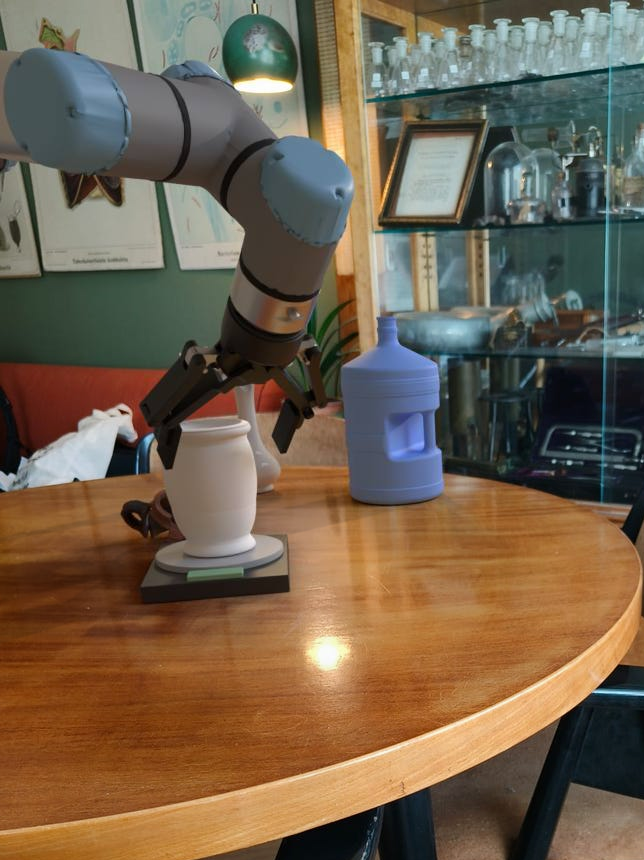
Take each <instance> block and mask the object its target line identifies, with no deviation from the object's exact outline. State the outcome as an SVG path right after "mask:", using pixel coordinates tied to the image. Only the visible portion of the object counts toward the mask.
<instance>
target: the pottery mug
mask: <svg viewBox="0 0 644 860" xmlns="http://www.w3.org/2000/svg"><path fill="white" fill-rule="evenodd" d="M134 514H137V515H138V517H139V518H140V519H138V518H137V517H136V516H135V515H134ZM119 515H120V517H121V518H122V520H123V521H124V523H125V524H126V525H127V526H128V527H130V528H131V529H132V530H135V531H137V532H139V534H140V535H141V536H142V537H143V538H144V539H147V538H148V537H149V535H150V538H151V539H153V540H154V539H155V538H156V537H157V536H158V535H160V534H163V533H167V532H168V536H167V539H166V542H165V543H173V542H181V541H185V540H186V537H185V536H183V534H182V533H181V531H180V529H179V528H178V526H177V524H176V521H175V519H174V516H173V513H172V508H171V505H170V503H169V500H168V497H167V494H166V491H165V488H164V489H161V490H159V491H158V492H157V493H156V494H155V495H154V496H153V500H151V501H150V502H146V501H142V500H139V499H131V500H128V501H126V502H124V504H123V505H122V509H121V510H120V514H119Z"/></svg>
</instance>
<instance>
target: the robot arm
mask: <svg viewBox="0 0 644 860" xmlns="http://www.w3.org/2000/svg"><path fill="white" fill-rule="evenodd" d="M18 162H22V163H27V164H28V163H29V164H34V165H41V166H42V167H45V168H50V169H55V170H58V171H61V172H64V173H67V174H73V175H74V174H75V175H83V176H100V177H101V176H102V177H110V178H111V177H113V178H121V179H122V178H124V179H132V180H143V181H149V182H155V183H157V182H158V183H165V184H175V185H182V186H191V187H197V188H198V187H199V188H202V189H203V190H205V191H206V192H208V193H209V195H211V196H212V198H213V199H214V200H215V201H216V202H217V203H218V204H219V206H220V207H222V208H223V210H224V211H225V212H226V213H227V214H228V215H229V216H230V217H231V218H232V219H234V220H235V222H237V224H239V226H240V227H241V228H242V229H243V232H244V236H243V241H242V244H241V248H240V253H239V256H238V259H237V260H238V261H237V264H236V267H235V270H234V274H233V277H232V281H231V284H230V290H229V295H228V297H227V300H226V305H225V308H224V313H223V315H222V316H223V317H222V320H221V325H220V337H219V339H218V341H216V343H215V344H214V345H213V347H208V346H207V347H203V346H199V344H198V341H196V340H195V339H190V340H187V341H186V342H185V343H184V345H183V348H182V351H181V352H180V353H181V356H180V355H179V357H178V359H177V360H176V361H175V362H174V363H173V364H172V366H170V368H169V369H168V370H167V371H166V373H164V375H163V376H162V377H161V378H160V380H158V382H157V383H156V384H155V385H154V386H153V387H152V388H151V390H150V391H149V392H148V393H147V394H146V396H145V397H143V399H142V400H141V401H140V402H139V404H138V408H139V410H140V413H141V414H142V416H143V418H144V421H145V423H146V425H147V426H148V428H153V431H152V434H153V436H154V438H155V441H156V443H157V445H156V449H155V450H156V452H157V455H158V457H159V459H160V461H162V464H163V466H164V468H165V470H170V469H173V465H174V461H175V457H176V453H177V449H178V445H179V441H180V437H181V433H182V428H181V426H180V423H181V422H183V421H186V420H187V419H188V418H189V417H190V416H192V415H193V414H195V413H196V412H197V411H198V410H200V409H201V408H202V407H204V406H205V405H206V404H208V403H209V402H211V401H212V400H213V399H214V398H216V397H217V396H218V395H220V394H223V395H226V394H228V393H229V392H231V391H233V388H235V387H236V386H245V385H249V384H255V385H258V386H259V385H266V384H267V382H269V381H271V380H272V381H273V382H274V383H275V384H276V385H277V387H278V388H279V389H281V390H282V391H283V392H284V393H285V395H286V396H287V397H285V398H284V401H283V403H282V406H281V409H280V411H279V414H278V417H277V419H276V422H275V424H274V426H273V430H272V432H271V438H272V440H273V442H274V444H275V446H276V449H277V450H278V452H279V454H280V455H285V454H287V453H288V450H289V448H290V445H291V443H292V440H293V438H294V436H295V433H296V431H297V430H300V429H301V428H302V426H303V424H304V422H305V420H311V419H313V418H314V417H315V415H316V414H315V411H314V410H313V408H318V409H324V408H326V407H327V406H328V404H329V403H328V398H327V394H326V390H325V389H326V388H325V384H324V381H323V376H322V371H321V368H320V366H321V361H322V357H323V352H322V350H321V348H320V346H319V344H318V343H317V341H316V339H315V337H314V335H313V333H306V332H307V328H308V324H309V322H310V321H311V317H312V314H313V312H314V310H315V307H316V304H317V301H318V298H319V296H320V293H321V290H322V286H323V284H324V279H325V277H326V275H327V272H328V269H329V267H330V265H331V261H332V259H333V257H334V255H335V252H336V249H337V248H338V245H339V243H340V241H341V239H342V238H343V236H344V233H345V231H346V229H347V228H346V227H347V225H348V216H349V213H350V209H351V206H352V203H353V200H354V196H355V181H354V177H353V174H352V172H351V169H350V168H349V166H348V165H347V163H346V162H345V160H344V159H343V158H342V157H341V156H340V155H339V154H338V153H336V152H335V151H334V150H332V149H327V148H325V147H324V146H323V145H322V143H321V142H320V141H318V140H316V139H313V138H310V137H307V136H302V135H285V136H281V137H278V135H276V133H275V132H274V131H273V130H272V129H271V128H270V126H269V125H268V124H267V123H266V122H265V121H264V120H263V119H262V118H261V116H260V115H259V114H257V112H256V111H255V110H254V109H253V108H252V107H251V105H249V103H247V101H246V100H245V99H244V97H243V96H242V94H241V92H240V91H239V90H237V89H236V87H235V86H234V85H233V84H232V83H231V82H229V81H228V80H227V79H225V78H223V77H222V76H221V75H220V74H219V73H218V72H217V71H216V70H215V69H214V68H213V67H211V66H209V65H208V64H206V63H204V62H202V61H200V60H196V59H188V60H185V61H184V62H183V63H180V64H176V63H175V64H172V65H170V66H168V67H167V68H166V69H164V70H163V71H162V72H161V73H160V74H158V73H157V74H156V73H152V72H145V71H141V70H138V69H133V68H130V67H126V66H122V65H119V64H115V63H112V62H108V61H103V60H99V59H95V58H91V57H90V56H89V55H87V54H84V53H81V52H77V51H71V50H66V49H57V48H55V49H54V48H53V49H51V48H46V47H31V48H28V49H25V50H23V51H14V50H4V49H0V175H3V174H4V173H7V172H10V171H11V170H12V169H13V168H14V167H15V166H16V165H17V164H18ZM296 358H298V360H299V361H300V363H301V365H302V369H303V373H304V377H305V380H306V384H307V388H308V390H307V391H304V390H302V388H301V387H300V386H299V385H298V383H297V382H296V380H295V379H294V378H293V377H292V376H291V374H290V373H289V371H287V368H288V367H287V366H288V365H290V364H291V363H292V362H293V363H294V362H295V360H296ZM219 368H220V369H221V370H222V372H223V373H224V374H225V376H226V377H227V378H226V379H225V380H223V379H222V377H221V375H220V373H219Z"/></svg>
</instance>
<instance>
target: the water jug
mask: <svg viewBox="0 0 644 860" xmlns="http://www.w3.org/2000/svg"><path fill="white" fill-rule="evenodd" d="M375 319H376V321H377V328H376V332H377V343H376V344H375V346H373V347H371V348H370V349H368V350H367V351H365V352H363V353H362V354H359V356H357V357H355V358H353V359H351V360H350V361H348V362H346V363H345V364H343V365H341V368H340V377H341V378H340V389H341V394H342V401H343V402H342V403H343V414H344V416H343V417H344V429H345V430H344V439H345V446H346V452H347V464H348V477H349V481H348V489H349V495H350V496H351V497H352V498H353V500H355V501H357V502H360V503H364V504H370V505H382V506H384V505H386V506H390V505H391V506H394V505H396V506H397V505H407V504H408V505H409V504H417V503H422V502H427V501H430V500H434V499H436V498H438V497H439V496H441V495H442V494H443V492H444V490H445V482H444V481H445V480H444V476H443V459H442V458H443V456H442V455H443V453H442V450H441V449H440V448H439V447H437V446H436V445H437V444H436V422H435V420H436V419H435V413H436V411H437V410H438V409H439V408H440V406H441V405H440V389H441V388H440V375H439V366H438V363H436V362H435V361H433V360H432V359H430V358H428V357H425V356H424V355H421V354H420V353H417V352H415V351H413V350H411V349H409V348H407V347H406V346H403V345H401V344H400V343H399V340H398V326H397V319H398V317H397V316H396V315H394V316H393V315H392V316H391V315H390V316H376V317H375Z"/></svg>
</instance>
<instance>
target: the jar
mask: <svg viewBox="0 0 644 860" xmlns="http://www.w3.org/2000/svg"><path fill="white" fill-rule="evenodd" d="M249 423H250V422H249V421H246V420H239V419H238V418H202V419H189V420H184V421H183V422H181V423H180V426H181V428H182V433H181V437H180V441H179V445H178V449H177V453H176V457H175V461H174V465H173V469H170V470H165V468H164V466H163V464H162V461H161V460H160V461H161V463H160V465H161V474H162V475H161V476H162V482H163V486H164V489H165V491H166V494H167V497H168V500H169V503H170V505H171V508H172V513H173V516H174V519H175V521H176V524H177V526H178V528H179V529H180V531H181V533H182V534H183V536H185V537H186V542H185V544H184V547H183V551H184V552H185V553H186V554H188V555H191V556H195V557H223V556H230V555H235V554H239V553H243V552H246V551H248V550H250V549H252V548H253V547H254V546H255V545H256V541H255V539H254V538H253V537H252V536H251V534H252V533H251V531H252V529H253V527H254V524H255V521H256V520H255V519H256V515H257V494H258V493H257V474H256V466H255V461H254V456H253V452H252V449H251V446H250V443H249V441H248V439H247V433H248V432H249V431H250V429H251V426H250V424H249Z"/></svg>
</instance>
